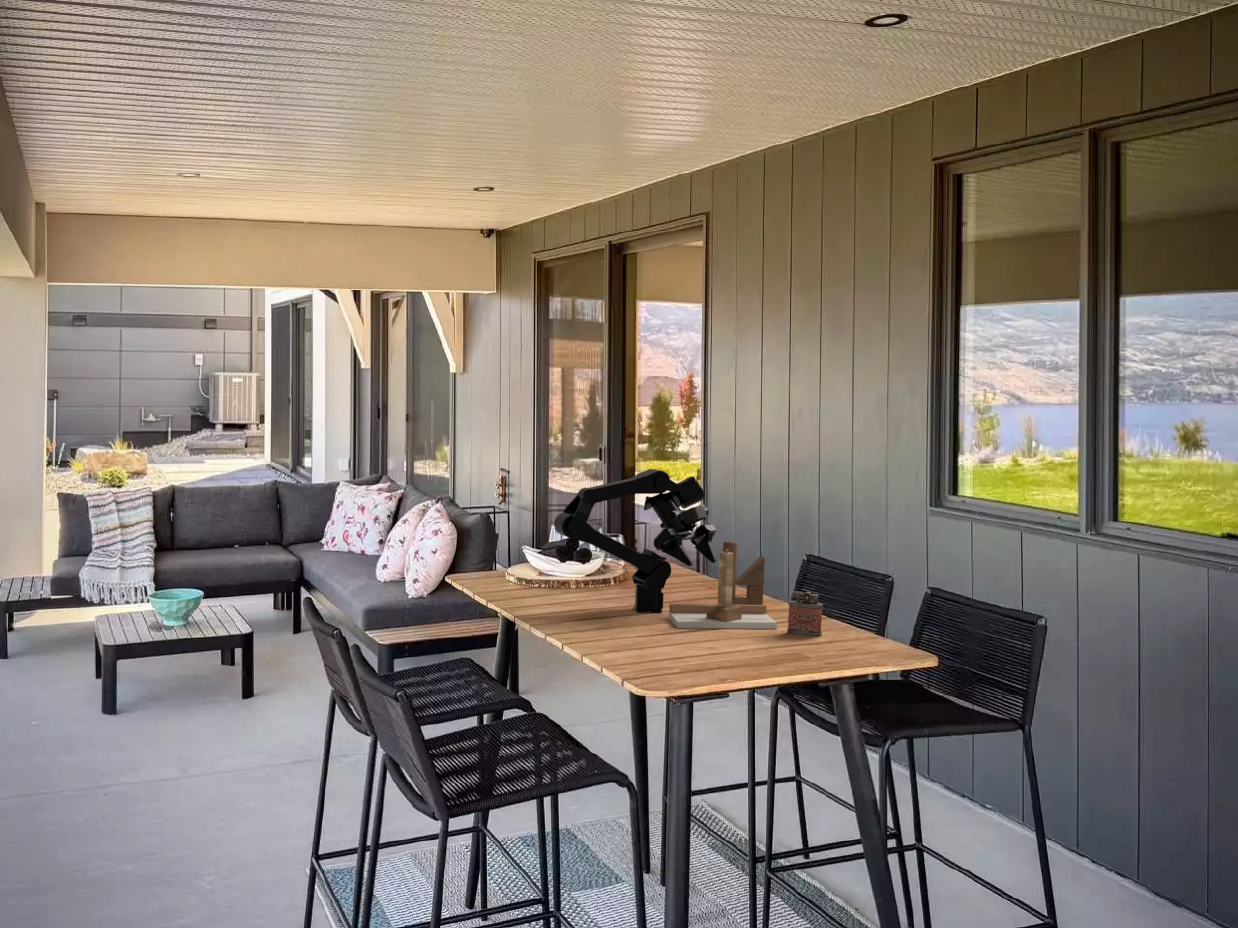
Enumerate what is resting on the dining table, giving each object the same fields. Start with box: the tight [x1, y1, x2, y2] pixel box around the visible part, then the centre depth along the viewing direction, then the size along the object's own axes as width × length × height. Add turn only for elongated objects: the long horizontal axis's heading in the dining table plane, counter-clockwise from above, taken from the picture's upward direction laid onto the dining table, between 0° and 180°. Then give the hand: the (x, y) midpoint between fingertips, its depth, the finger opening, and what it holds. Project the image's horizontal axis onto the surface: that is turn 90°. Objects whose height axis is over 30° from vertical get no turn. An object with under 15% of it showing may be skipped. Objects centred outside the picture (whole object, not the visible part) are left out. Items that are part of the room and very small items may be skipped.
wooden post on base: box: [706, 549, 742, 622], centre depth 282 cm, size 6×6×17 cm
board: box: [668, 603, 778, 630], centre depth 285 cm, size 24×12×4 cm, turn 97°
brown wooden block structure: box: [722, 540, 766, 605], centre depth 300 cm, size 4×11×18 cm, turn 100°
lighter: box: [786, 590, 824, 638], centre depth 275 cm, size 8×3×10 cm, turn 71°
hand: (702, 563), depth 289 cm, fingers open, 9 cm apart
